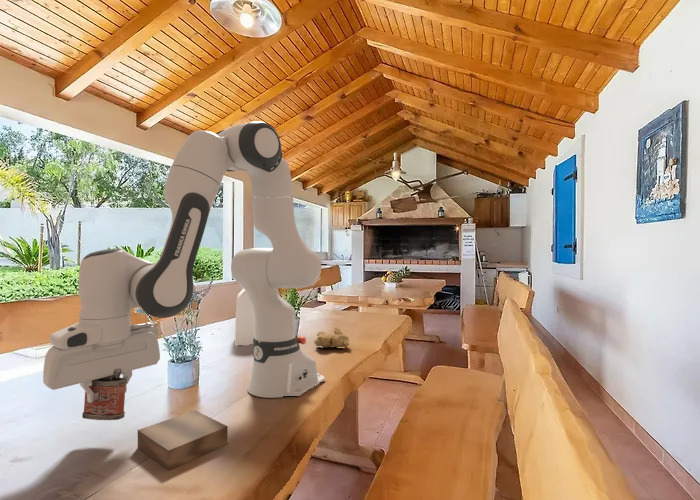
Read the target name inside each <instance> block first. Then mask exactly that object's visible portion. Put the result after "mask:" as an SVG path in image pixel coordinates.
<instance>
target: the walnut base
mask: <svg viewBox="0 0 700 500" xmlns="http://www.w3.org/2000/svg"><path fill="white" fill-rule="evenodd" d="M228 433H229V430H228V426H227V425H226V424H224V423H222V422H220V421H217V420H216V419H214V418H212V417H209V416H208V415H207V414H206V415H205V414H203V413H202V412H200V411H198V410H191V411H189V412H186V413H183V414H180V415H178V416H174V417H172V418H169V419H166V420H163V421H160V422H157V423H154V424H151V425H148V426H145V427H142V428H140V429H137V449H138V450H140V451H141V452H143V453H144V454H145V455H146V456H147V457H149V458H151V459H152V460H154V462H156V463H157V464H159V465H160V466H162V467H163V468H164V469H166V471H170V470H172V469H175V468H176V467H179V466H181V465H184V464H186V463H188V462H191V461H192V460H195V459H197V458H200V457H201V456H204V455H207V454H208V453H211V452H213V451H215V450H217V449H219V448H221V447H224V446H226V445H227V444H228V442H229V441H228V435H229V434H228Z"/></svg>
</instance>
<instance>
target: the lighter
mask: <svg viewBox="0 0 700 500" xmlns="http://www.w3.org/2000/svg"><path fill="white" fill-rule="evenodd" d="M121 375H122V374H121V369H116V370H114V373H113V375H111V376H107V377H103V378H99V379H95V380H92V386H89V388H90V389H91V390H92V391H93V392H99V396H98V398H99V400H98V401H95V402H92V403H89V402H88V400H87V392H86V391H85V390H84V404H83V412H82V416H81V417H82V419H84V420H85V419H86V420H93V421H118V420H121V419H124V418H125V414H126V412H125V403H126V402H125V401H126V400H125V399H126V393H125V387H127V385H126V383H127V379H126V378H122V377H121Z"/></svg>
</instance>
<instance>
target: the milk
mask: <svg viewBox="0 0 700 500" xmlns="http://www.w3.org/2000/svg"><path fill="white" fill-rule="evenodd" d="M235 304H236V305H235V306H236V308H235V324H234V325H235V327H234V328H235V329H234V330H235V331H234V345H235V346H236V347H239V346H238V345H243V346H250V345H249V344H253V338H254V337H255V324H254V310H253V306H252V303H251V300H250V298H249V296H248V294H247V292H246V291H245V289H244V288H242V290H241V291H239V292H238V293H237V295H236V303H235Z"/></svg>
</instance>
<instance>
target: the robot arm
mask: <svg viewBox="0 0 700 500" xmlns="http://www.w3.org/2000/svg"><path fill="white" fill-rule="evenodd" d="M290 170H291V169H290V166H289V163H288V162H287V160H286V159H285V158H283V150H282V142H281V140H280V137H279V134H278V132H277V131H276V129H275V128H274V127H273V126H272V125H271V124H269V123H267V122H264V121H250V122H246V123H240V124H235V125H232V126H231V127H228V128H226V129H222V130H220V131H218V132H216V133H215V132H212V131H208V130H202V129H200V130H195V131H193V132H191V133H190V134H189V135H188V136H187V138H186V140H185V141H184V142H183V143H182V145H181V147H180V149H179V151H178V152H177V153H176V156H175V158H174V160H173V163H172V165H171V166H170V169H169V171H168V174H167V177H166V181H165V185H164V189H163V190H164V191H163V196H164V200H165V202H166V204H167V205H168V207H169V209H170V212H171V217H172V218H171V225H170V228H169V231H168V234H167V237H166V239H165V242H164V245H163V248H162V251H161V254H160V256H159V259H158V260H157V262H152V261H149V260H145V259H143V258H140V257H138V256H136V255H133V254H131V252H128V251H126V249H124V248H107V249H102V250H96V251H93V252H90V253H88V254H87V255H85V256H84V257H83V258H82V260H81V261H80V263H79V264H80V265H79V269H78V284H77V285H78V289H77V290H78V298H79V300H80V312H79V314H78V321H77V322H76V323H73V324H71V325H69V326H66V327H64V328H61V329H59V330H57V331H54V332H53V333H51V334H50V336H49V343H50V344H51V345H52V346H51V347H50V348H49V349H47V352H46V354H45V356H44V357H45V358H44V363H43V373H42V374H43V375H42V377H43V379H42V380H43V384H44V385H45V386H46V387H47V388H49V389H50V390H52V391H53V390H54V391H56V390H58V389H59V390H60V389H63V388H67V387H71V386H74V385H79V386H80V387H81V388H82V389H83V390H84V392H85V391H86V392H87V400H88V402H89V403H92V402H95V401H98V400H99V398H98V396H99V392H93V391H92V390H91V389H90V388H89V386H92V380H95V379H99V378H103V377H107V376H111V375H113V373H114V370H116V369H121V374H120V375H121V376H122V377H121V378H126V379H127V383H126V387H125V394H126V393H127V390H128V389H127V385H128V384H129V382H130V380H131V377H132V376H133V371H134V370H138V369H142V368H146V367H151V366H155V365H157V364H158V363H159V361H160V359H161V355H160V354H161V352H160V351H161V350H160V345H159V340H158V339H159V334H160V333H159V327H158V326H157V325H156V324H155V323H152V322H151V321H149V322H144V323H137V324H132V321H131V320H132V317H131V310H132V309H133V308H141V309H142V310H143V312H145V313H146V314H147V315H149V316H151V317H154V318H159V319H166V318H167V319H168V318H171V317H174V316H176V315H178V314H180V313H181V312H182V311H184V310H185V309H186V308H187V307H188V305H190V302H191V300H192V298H193V294H194V280H193V278H194V277H193V271H194V267H195V266H194V265H195V263H196V259H197V256H198V252H199V249H200V246H201V242H202V239H203V236H204V233H205V230H206V226H207V222H208V218H209V216H210V212H211V209H212V207H213V204H214V203H215V200H216V197H217V195H218V193H219V191H220V188H221V184H222V181H223V178H224V175H225V174H226V172H245V171H246V173H247V174H248V177H249V179H250V183H251V190H250V191H251V210H252V211H251V212H252V213H251V214H252V224H253V226H254V228H255V229H256V230H257V231H258V232H259V233H261V234H262V235H265V237H267V239H269V241H270V243H271V246H272V247H252V248H245V249H242V250H239V251H238V252H236V253H235V255H234V256H233V258H232V259H231V264H230V270H231V271H230V273H231V275H232V277H233V279H234V280H235V281H236V283H237V284H238V285H240V286H241V287H242V289H245V291H246V292H247V294H248V296H249V298H250V300H251V303H252V306H253V310H254V324H255V337H254V338H253V345H252V355H253V356H252V357H253V361H252V362H253V363H252V370H251V374H250V375H251V376H250V380H249V385H248V388H247V391H248V393H249V394H251V395H252V396H256V397H258V398H265V399H266V398H269V399H272V398H273V399H275V398H277V399H278V398H284V397H283V396H299V395H300V394H302V393H304V392H306V391H307V390H309V389H311V388H312V387H314V386H315V385H317V384H318V383H320V382H321V381H323V380H324V379H325V380H326V377H325V376H324V375H322V374H320V373H319V372H318V369H317V362H316V361H315V359H314V358H313V357H312V356H310V355H309V354H307V353H306V352H305V351H303V350H302V349H301V348H300V344H301V345H305V344H306V343H307V337H305V336H301V335H300V336H298V337H297V336H296V311H295V309H294V307H293V305H292V304H291V303H289V302H288V301H286V300H284V299H283V298H282V296H281V295H280V293H279V290H278V288H279V289H303V288H309V287H312V286H314V285H315V284H316V283H317V282H318V281H319V279H320V276H321V273H322V263H321V259H320V258H319V255H317V253H316V252H315V251H314V250H312V249H311V248H309V246H308V245H307V244H306V243H305V242H304V240H303V239H302V237H301V236H300V233H299V231H298V228H297V225H296V224H297V223H296V218H295V207H294V189H293V187H294V186H293V182H292V175H291V171H290ZM317 386H318V385H317ZM314 388H315V387H314ZM312 389H313V388H312ZM312 389H311V390H312ZM309 391H310V390H309ZM307 392H308V391H307ZM307 392H306V393H307ZM304 394H305V393H304ZM302 395H303V394H302ZM300 396H301V395H300ZM300 396H299V397H300Z"/></svg>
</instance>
